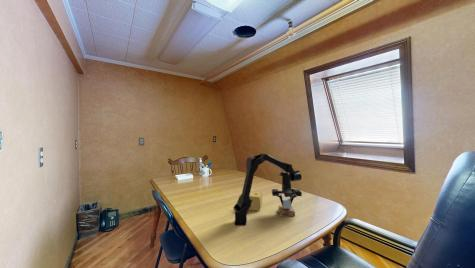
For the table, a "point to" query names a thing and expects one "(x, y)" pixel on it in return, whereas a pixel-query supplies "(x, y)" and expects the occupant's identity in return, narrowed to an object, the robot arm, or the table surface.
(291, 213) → the pedestal
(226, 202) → the table surface
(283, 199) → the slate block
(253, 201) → the cheese
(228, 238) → the table surface
